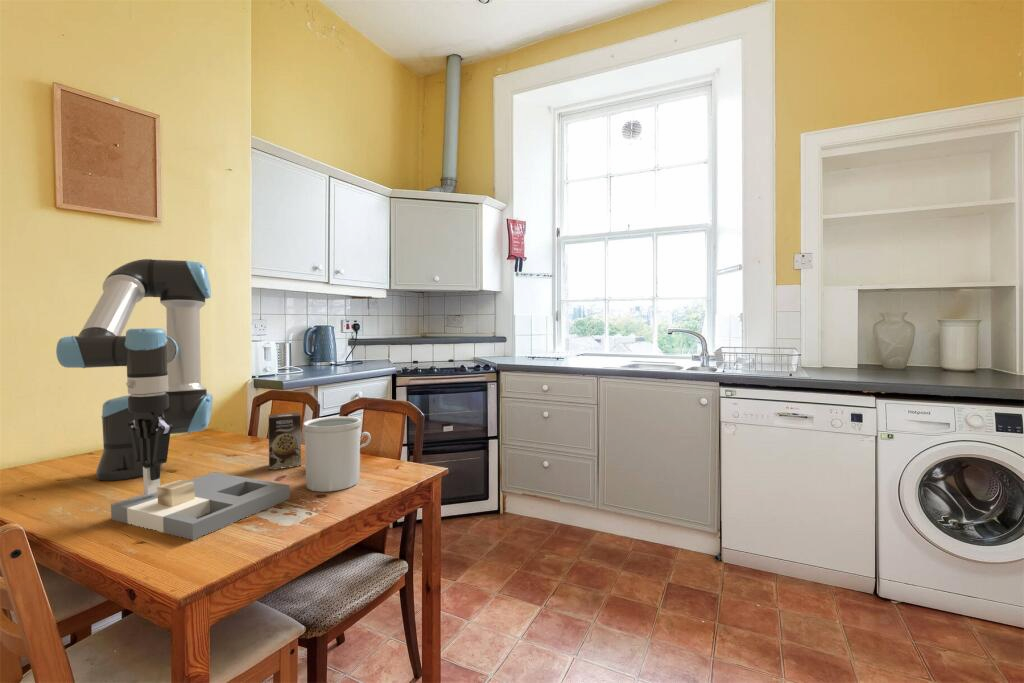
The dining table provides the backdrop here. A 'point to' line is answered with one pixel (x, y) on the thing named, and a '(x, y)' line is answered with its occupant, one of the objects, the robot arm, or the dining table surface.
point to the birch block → (176, 493)
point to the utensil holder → (332, 453)
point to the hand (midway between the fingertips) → (152, 492)
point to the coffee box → (284, 440)
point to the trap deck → (202, 505)
